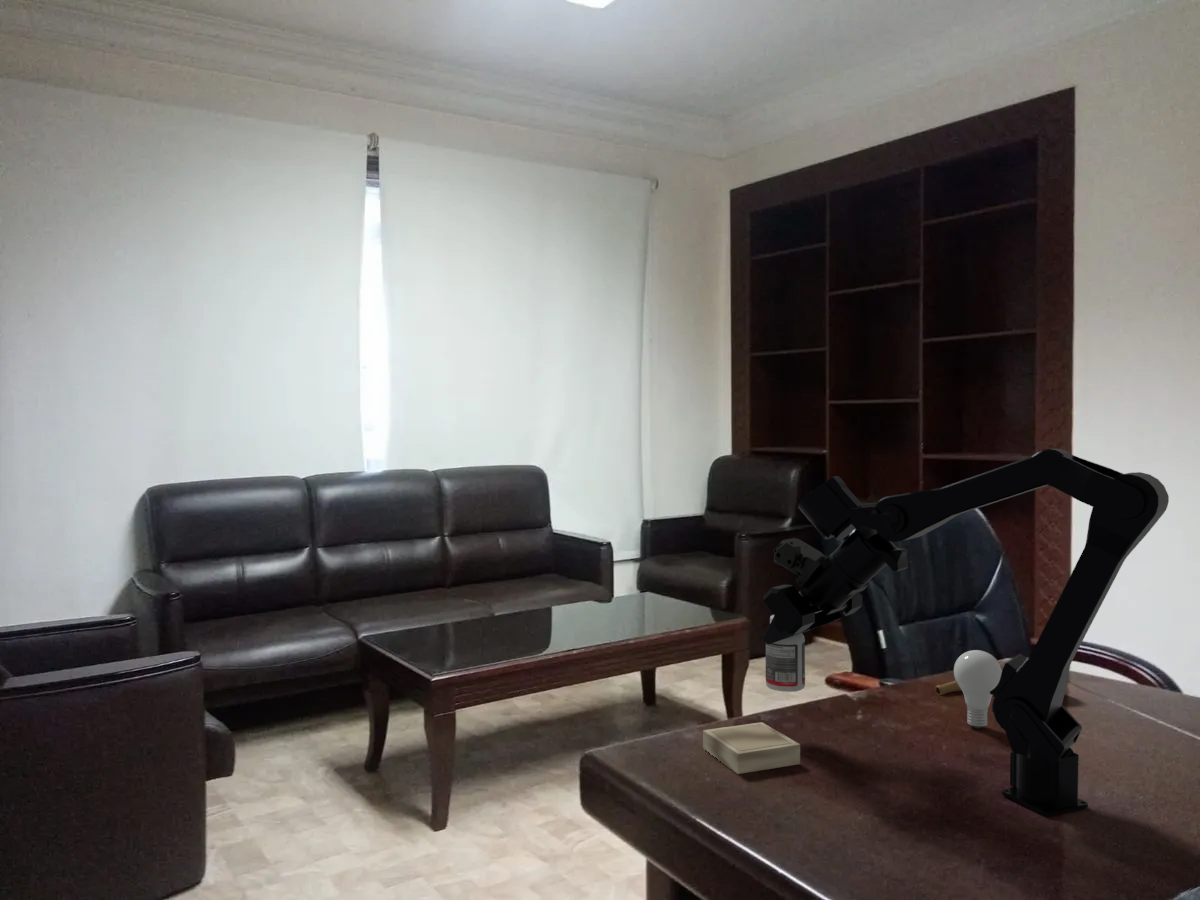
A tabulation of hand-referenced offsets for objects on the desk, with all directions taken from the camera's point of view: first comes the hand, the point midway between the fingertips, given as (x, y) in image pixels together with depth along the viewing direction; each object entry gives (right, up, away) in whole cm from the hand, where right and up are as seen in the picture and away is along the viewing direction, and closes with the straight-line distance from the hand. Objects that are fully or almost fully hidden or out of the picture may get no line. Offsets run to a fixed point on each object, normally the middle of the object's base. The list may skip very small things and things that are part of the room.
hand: (776, 637), depth 122 cm
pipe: (+40, -13, +18) cm, 46 cm away
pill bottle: (+1, -7, -1) cm, 7 cm away
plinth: (-5, -13, -9) cm, 17 cm away
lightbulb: (+29, -13, +3) cm, 32 cm away
